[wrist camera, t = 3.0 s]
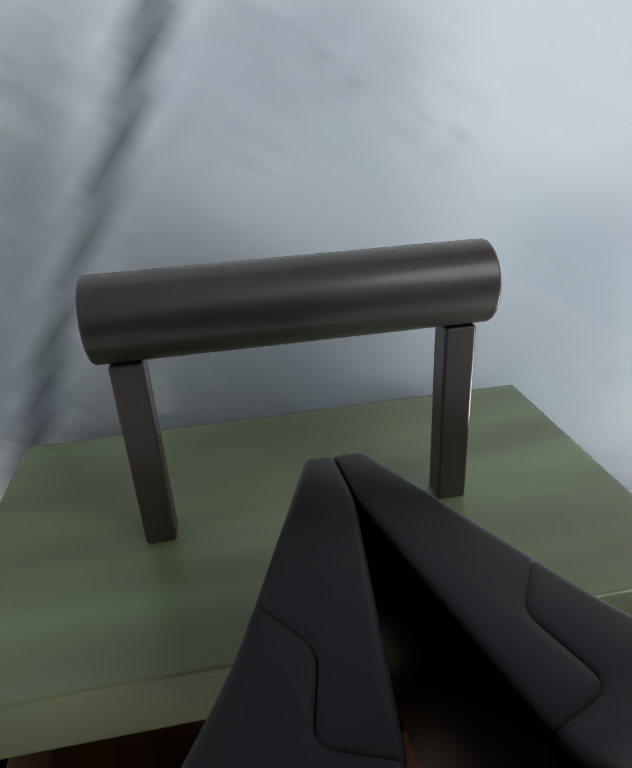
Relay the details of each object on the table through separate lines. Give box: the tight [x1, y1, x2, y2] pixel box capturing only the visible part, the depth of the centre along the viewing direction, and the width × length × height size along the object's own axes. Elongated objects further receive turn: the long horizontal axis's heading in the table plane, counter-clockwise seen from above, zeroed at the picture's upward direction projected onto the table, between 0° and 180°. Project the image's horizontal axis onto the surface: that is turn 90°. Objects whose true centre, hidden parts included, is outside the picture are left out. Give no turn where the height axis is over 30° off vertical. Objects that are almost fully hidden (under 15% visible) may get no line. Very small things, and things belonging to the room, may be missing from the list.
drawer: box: [0, 238, 632, 768], centre depth 15 cm, size 19×13×8 cm
